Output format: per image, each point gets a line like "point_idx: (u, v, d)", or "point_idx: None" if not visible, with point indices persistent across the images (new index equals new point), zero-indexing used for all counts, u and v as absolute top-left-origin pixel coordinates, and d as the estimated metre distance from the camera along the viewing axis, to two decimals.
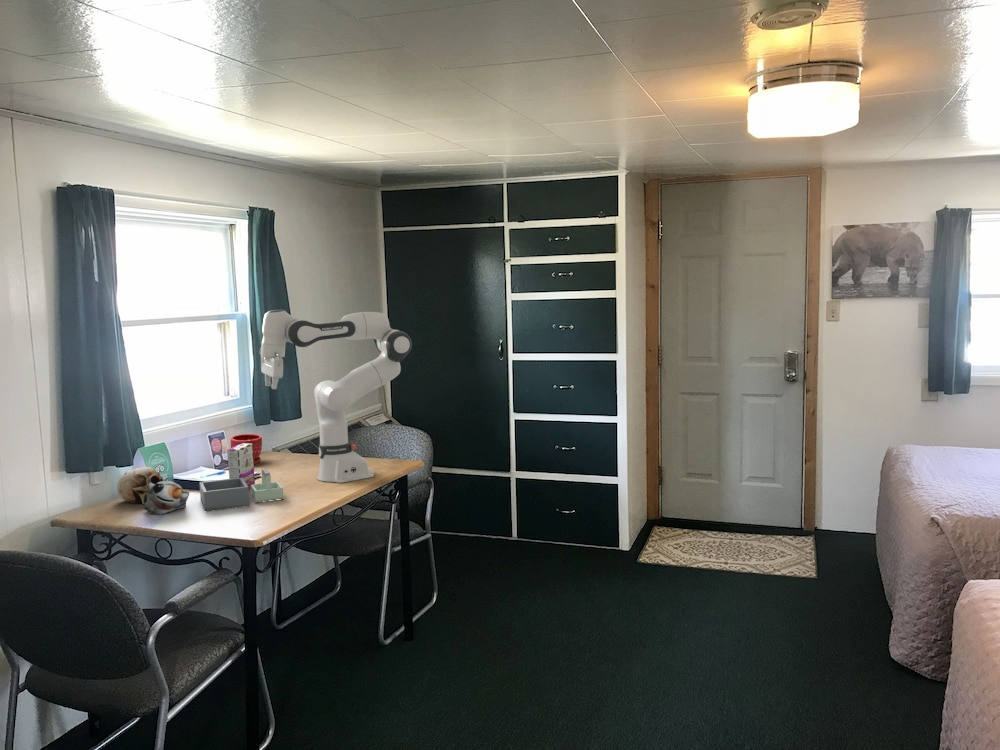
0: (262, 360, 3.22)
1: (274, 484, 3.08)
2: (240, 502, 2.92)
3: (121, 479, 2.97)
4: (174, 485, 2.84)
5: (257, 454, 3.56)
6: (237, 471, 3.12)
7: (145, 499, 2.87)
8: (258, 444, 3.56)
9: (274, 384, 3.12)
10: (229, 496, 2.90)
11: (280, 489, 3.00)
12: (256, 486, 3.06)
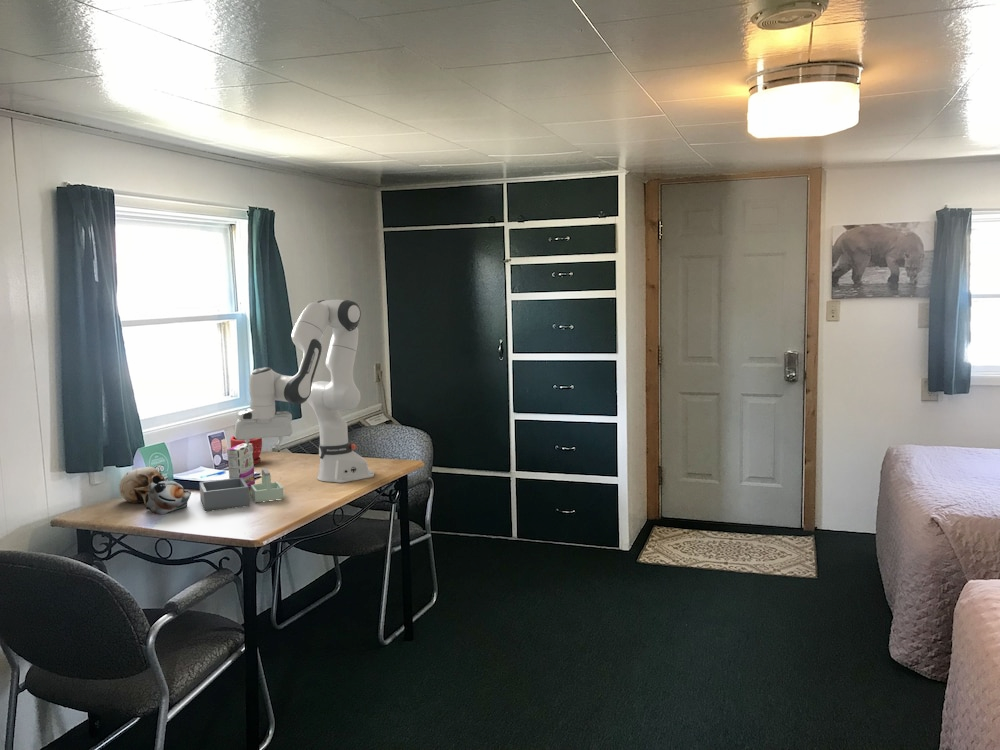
0: (242, 426, 2.95)
1: (274, 484, 3.08)
2: (240, 502, 2.92)
3: (123, 479, 2.97)
4: (176, 485, 2.85)
5: (257, 454, 3.56)
6: (237, 471, 3.12)
7: (146, 499, 2.88)
8: (258, 444, 3.56)
9: None
10: (229, 496, 2.90)
11: (280, 489, 3.00)
12: (256, 486, 3.06)
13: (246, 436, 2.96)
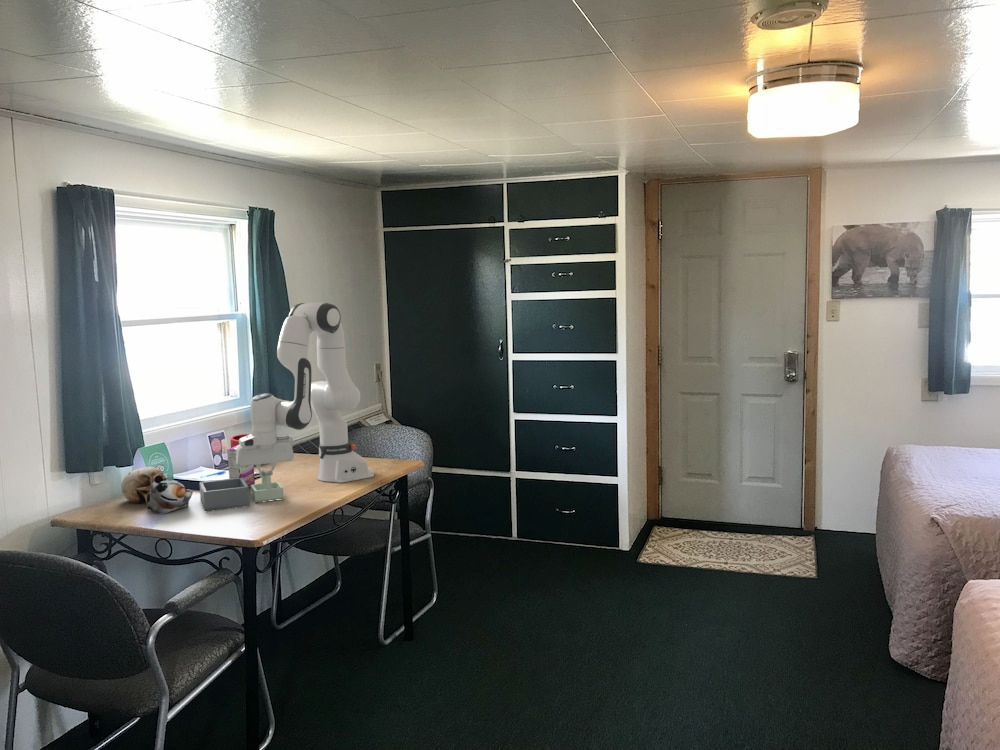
0: (243, 452, 2.96)
1: (274, 484, 3.08)
2: (240, 502, 2.92)
3: (125, 479, 2.97)
4: (177, 484, 2.86)
5: None
6: (237, 471, 3.12)
7: (148, 498, 2.88)
8: None
9: None
10: (229, 496, 2.90)
11: (280, 489, 3.00)
12: (256, 486, 3.06)
13: (248, 462, 2.97)
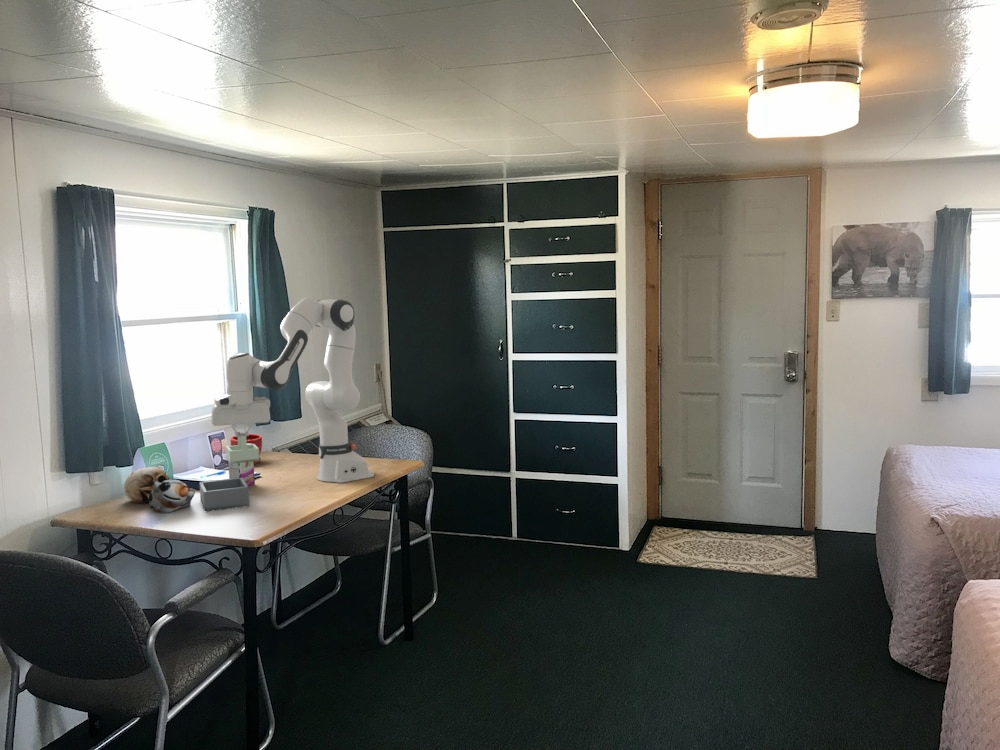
0: (219, 412, 2.91)
1: (250, 446, 3.03)
2: (240, 502, 2.92)
3: (128, 479, 2.97)
4: (180, 483, 2.87)
5: None
6: (237, 471, 3.12)
7: (150, 498, 2.89)
8: (258, 444, 3.56)
9: None
10: (229, 496, 2.90)
11: (256, 450, 2.95)
12: (232, 448, 3.00)
13: (223, 422, 2.92)
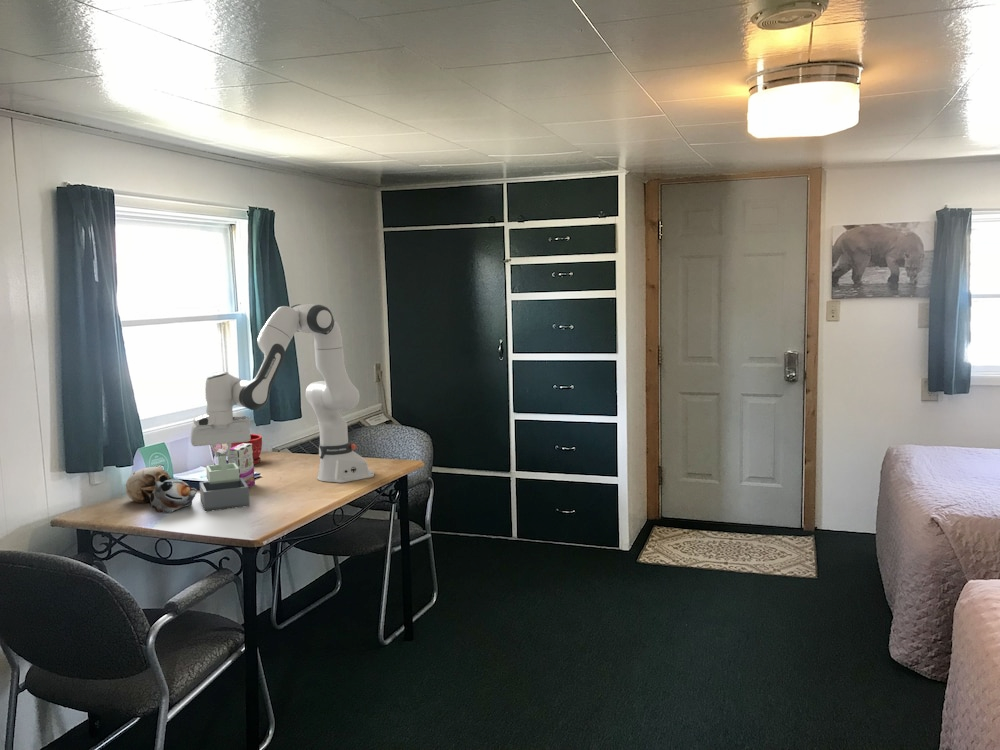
0: (198, 432, 2.89)
1: (231, 465, 3.01)
2: (240, 502, 2.92)
3: (130, 479, 2.97)
4: (182, 483, 2.87)
5: (257, 454, 3.56)
6: None
7: (151, 498, 2.89)
8: (258, 444, 3.56)
9: None
10: (229, 496, 2.90)
11: (236, 470, 2.93)
12: (212, 467, 2.98)
13: (202, 442, 2.90)
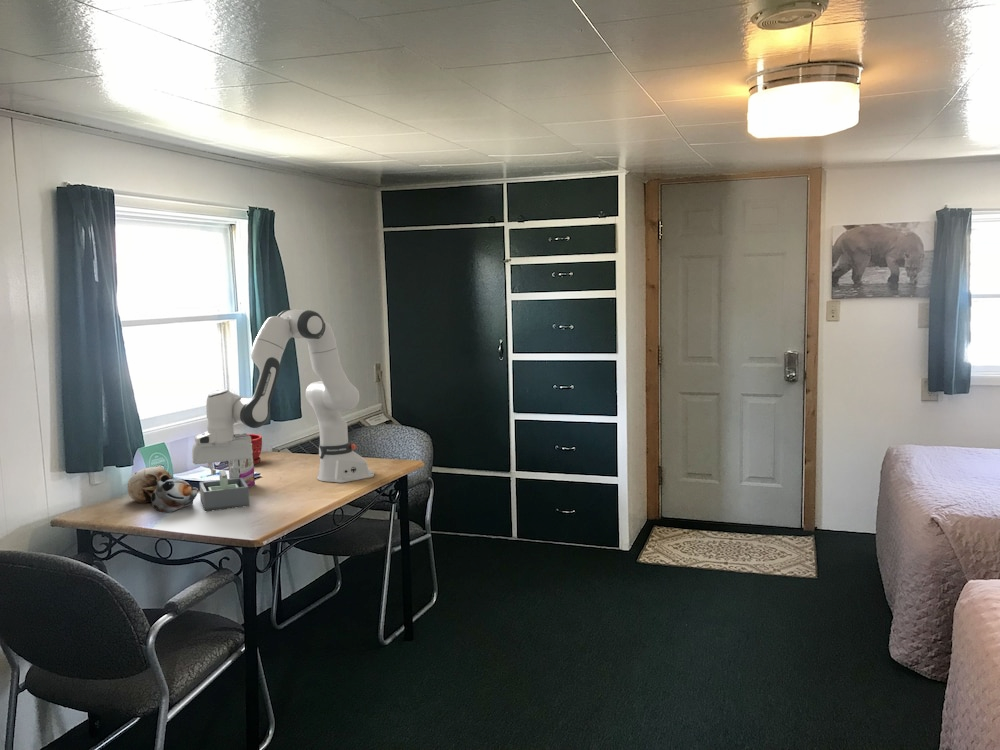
0: (199, 450, 2.90)
1: (232, 486, 3.02)
2: (240, 502, 2.92)
3: (131, 479, 2.97)
4: (184, 482, 2.88)
5: (257, 454, 3.56)
6: (237, 471, 3.12)
7: (153, 497, 2.89)
8: (258, 444, 3.56)
9: None
10: (229, 496, 2.90)
11: None
12: (214, 488, 2.99)
13: (204, 460, 2.91)
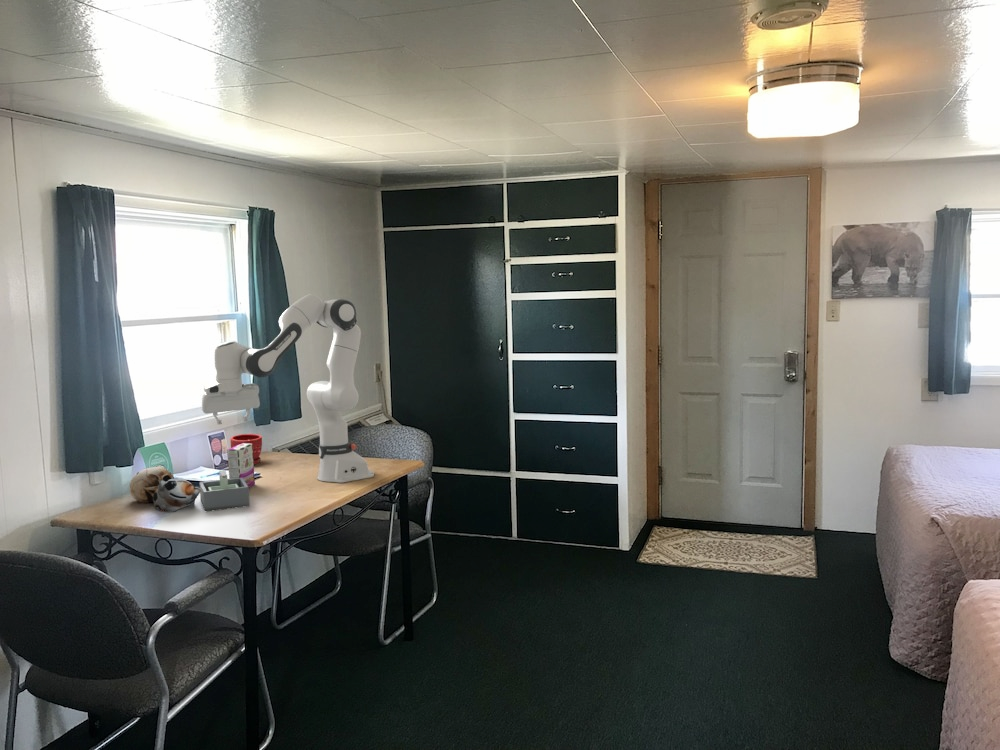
0: (209, 399, 2.98)
1: (232, 486, 3.02)
2: (240, 502, 2.92)
3: (133, 479, 2.98)
4: (186, 482, 2.89)
5: (257, 454, 3.56)
6: (237, 471, 3.12)
7: (155, 497, 2.90)
8: (258, 444, 3.56)
9: None
10: (229, 496, 2.90)
11: None
12: (214, 488, 2.99)
13: (214, 409, 2.99)
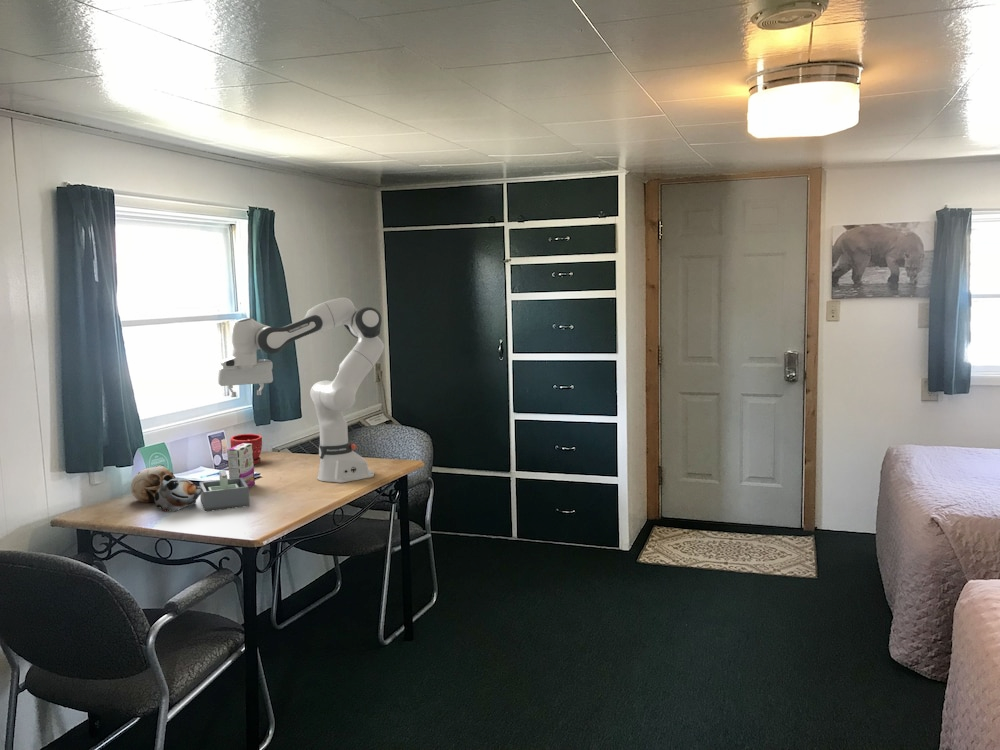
0: (225, 373, 3.14)
1: (232, 486, 3.02)
2: (240, 502, 2.92)
3: (135, 478, 2.98)
4: (188, 481, 2.89)
5: (257, 454, 3.56)
6: (237, 471, 3.12)
7: (156, 497, 2.90)
8: (258, 444, 3.56)
9: None
10: (229, 496, 2.90)
11: None
12: (214, 488, 2.99)
13: (229, 382, 3.15)
